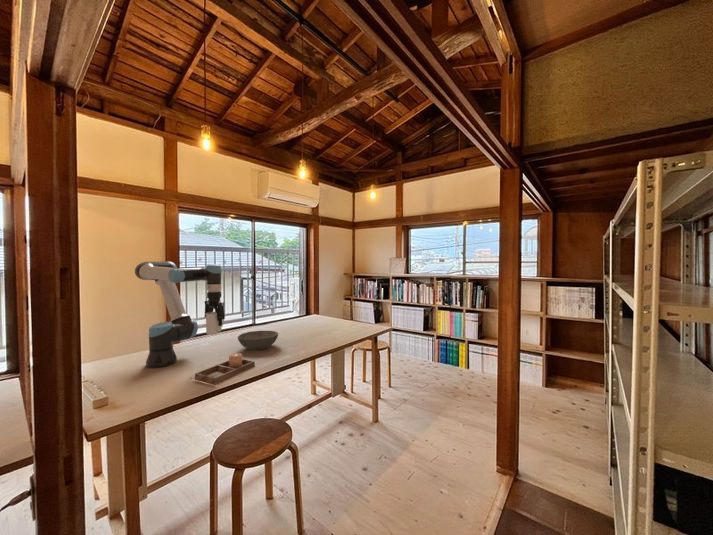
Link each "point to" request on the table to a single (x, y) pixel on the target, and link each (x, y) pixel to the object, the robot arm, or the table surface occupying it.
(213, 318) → the mug
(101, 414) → the table surface
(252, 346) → the bowl
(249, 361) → the divided wooden tray
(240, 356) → the brown egg
